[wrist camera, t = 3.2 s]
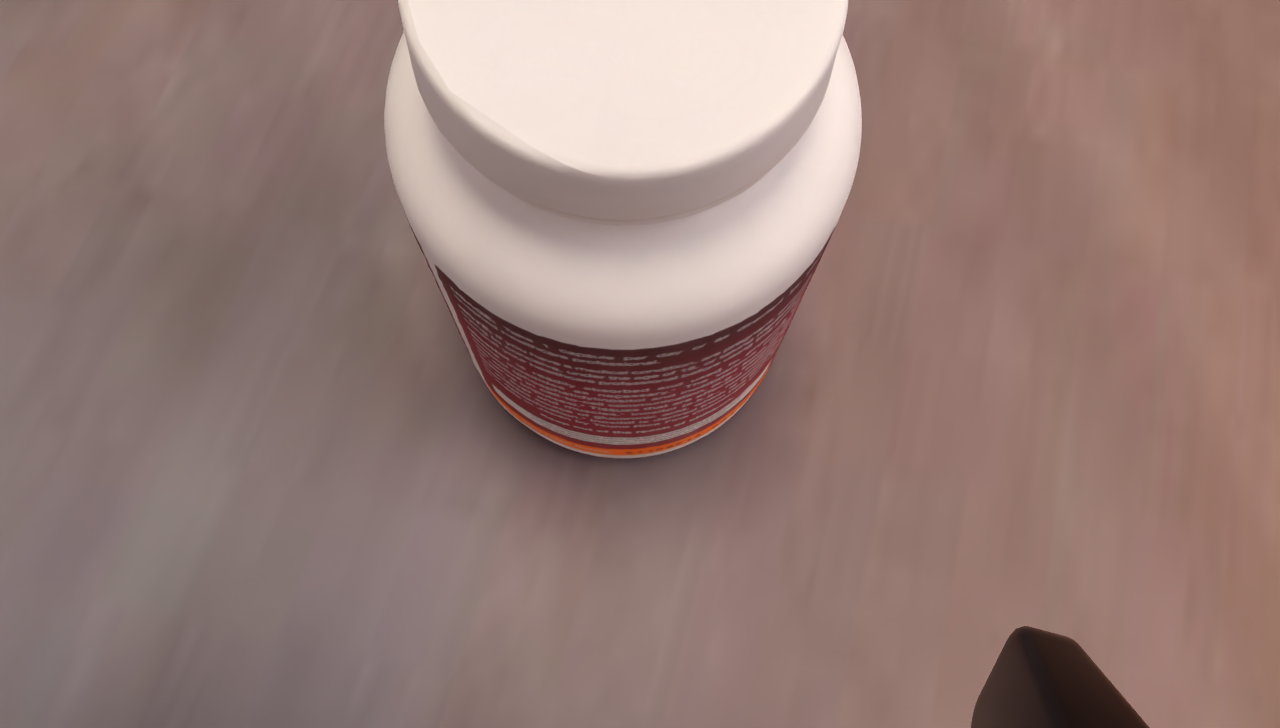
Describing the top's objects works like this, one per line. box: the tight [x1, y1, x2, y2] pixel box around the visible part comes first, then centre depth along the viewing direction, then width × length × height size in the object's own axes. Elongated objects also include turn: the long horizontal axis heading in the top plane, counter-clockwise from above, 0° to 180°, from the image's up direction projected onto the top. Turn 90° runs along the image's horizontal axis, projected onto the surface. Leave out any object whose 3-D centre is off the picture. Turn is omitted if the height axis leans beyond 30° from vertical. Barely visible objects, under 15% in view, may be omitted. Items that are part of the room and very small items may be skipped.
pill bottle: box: [384, 0, 862, 458], centre depth 16 cm, size 6×6×11 cm
